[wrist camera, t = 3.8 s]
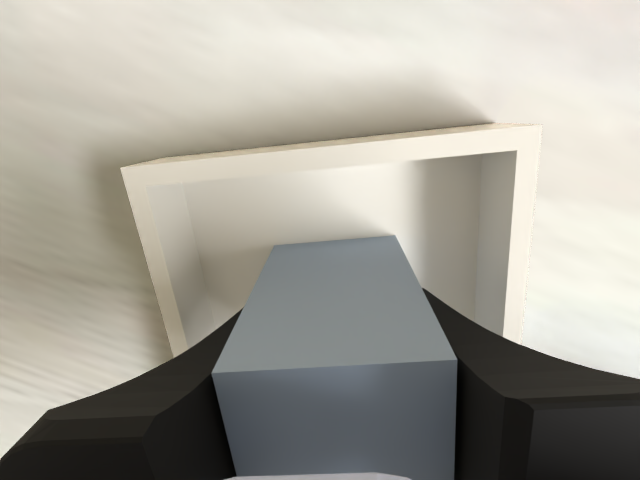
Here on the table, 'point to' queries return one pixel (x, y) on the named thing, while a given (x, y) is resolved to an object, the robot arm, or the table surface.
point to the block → (338, 367)
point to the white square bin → (343, 218)
